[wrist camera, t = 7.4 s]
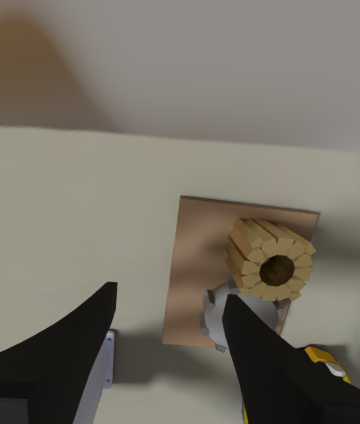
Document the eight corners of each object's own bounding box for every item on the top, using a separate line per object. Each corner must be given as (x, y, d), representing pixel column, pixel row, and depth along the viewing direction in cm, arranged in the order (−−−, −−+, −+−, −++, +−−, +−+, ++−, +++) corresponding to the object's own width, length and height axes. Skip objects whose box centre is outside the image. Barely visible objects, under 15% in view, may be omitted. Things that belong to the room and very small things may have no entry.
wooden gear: (271, 270, 21) (300, 303, 16) (220, 265, 20) (235, 297, 16) (284, 222, 19) (321, 242, 15) (231, 215, 19) (250, 234, 14)
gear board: (267, 341, 25) (284, 374, 21) (162, 333, 24) (160, 366, 21) (308, 211, 21) (339, 223, 17) (180, 195, 20) (182, 204, 16)
